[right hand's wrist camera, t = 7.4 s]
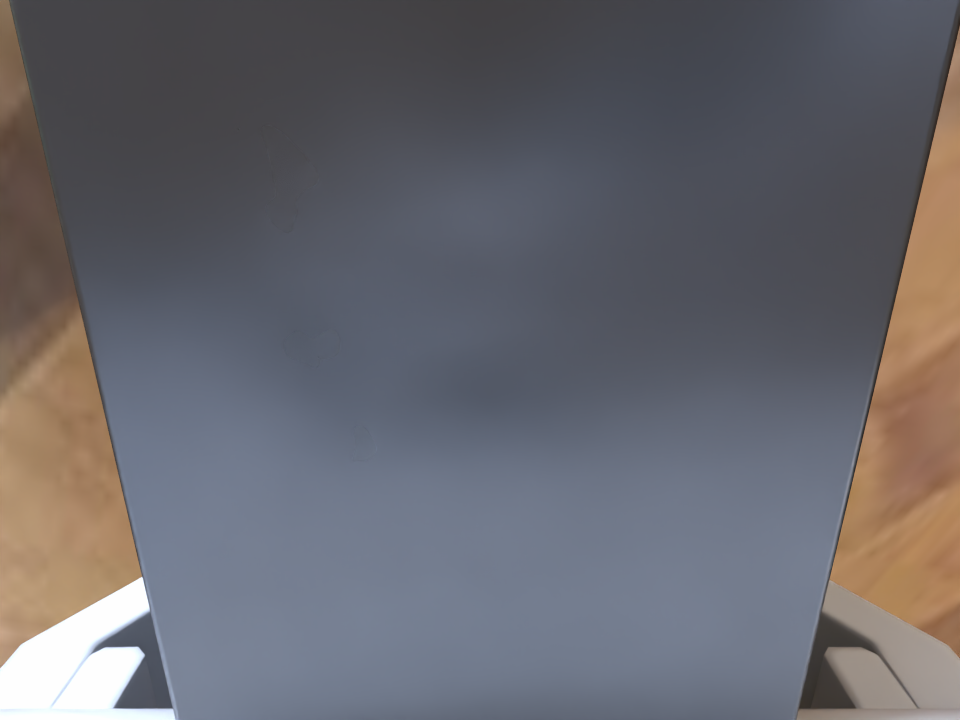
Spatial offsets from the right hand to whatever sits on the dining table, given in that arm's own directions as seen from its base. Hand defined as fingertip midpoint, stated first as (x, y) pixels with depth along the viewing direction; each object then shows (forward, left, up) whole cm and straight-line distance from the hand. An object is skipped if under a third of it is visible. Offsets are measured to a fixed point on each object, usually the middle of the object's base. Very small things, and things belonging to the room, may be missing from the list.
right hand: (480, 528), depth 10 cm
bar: (-10, +3, -3) cm, 11 cm away
